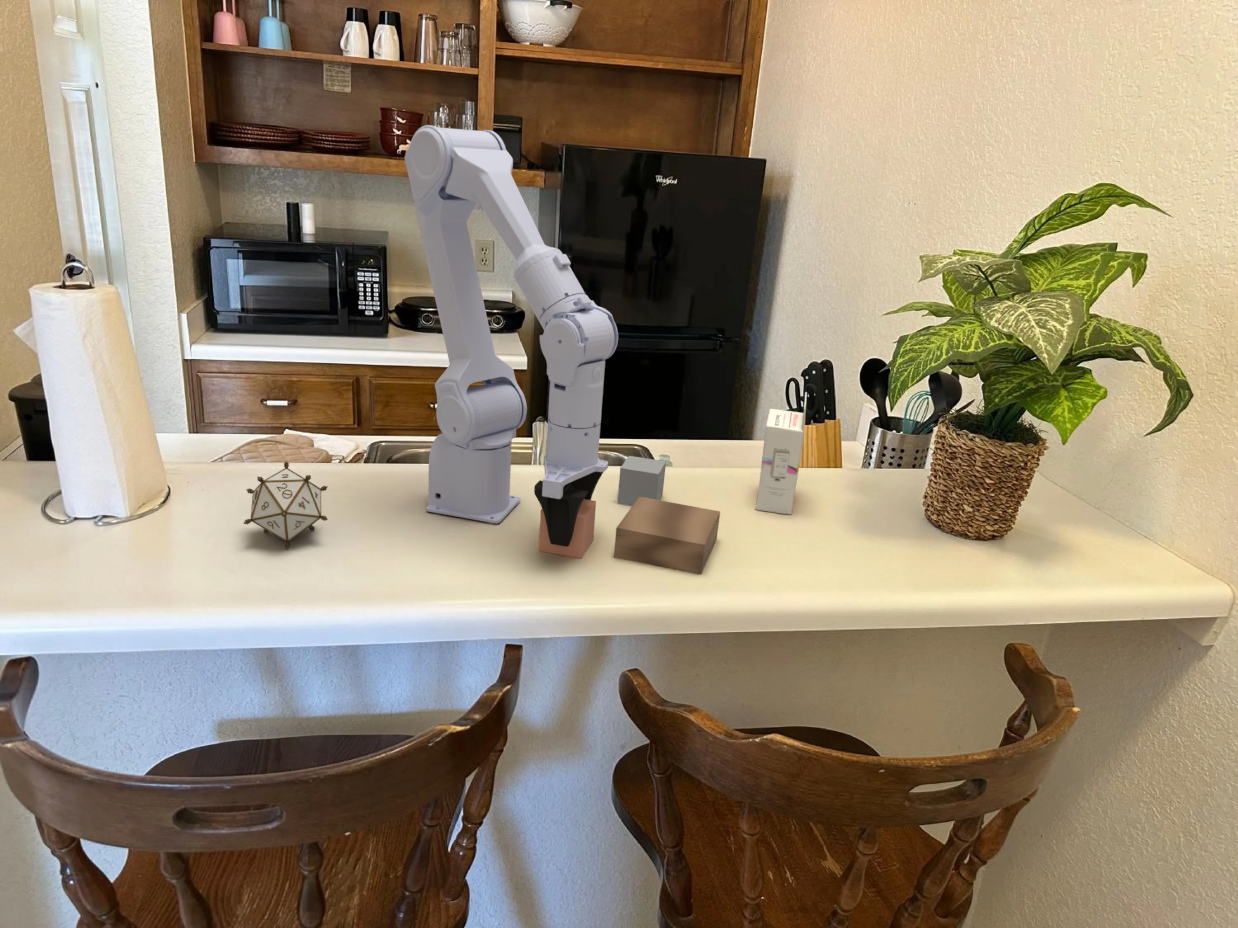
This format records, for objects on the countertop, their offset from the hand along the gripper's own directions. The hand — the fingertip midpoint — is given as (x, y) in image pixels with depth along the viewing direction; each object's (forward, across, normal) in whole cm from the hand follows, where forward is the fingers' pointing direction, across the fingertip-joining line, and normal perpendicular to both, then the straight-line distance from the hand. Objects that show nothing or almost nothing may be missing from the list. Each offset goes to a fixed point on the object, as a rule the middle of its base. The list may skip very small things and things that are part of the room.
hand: (567, 534), depth 100 cm
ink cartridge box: (+2, +24, -22) cm, 33 cm away
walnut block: (+2, +4, -11) cm, 12 cm away
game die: (+2, -10, +29) cm, 31 cm away
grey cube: (+2, +17, -5) cm, 18 cm away
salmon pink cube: (+1, 0, 0) cm, 1 cm away
